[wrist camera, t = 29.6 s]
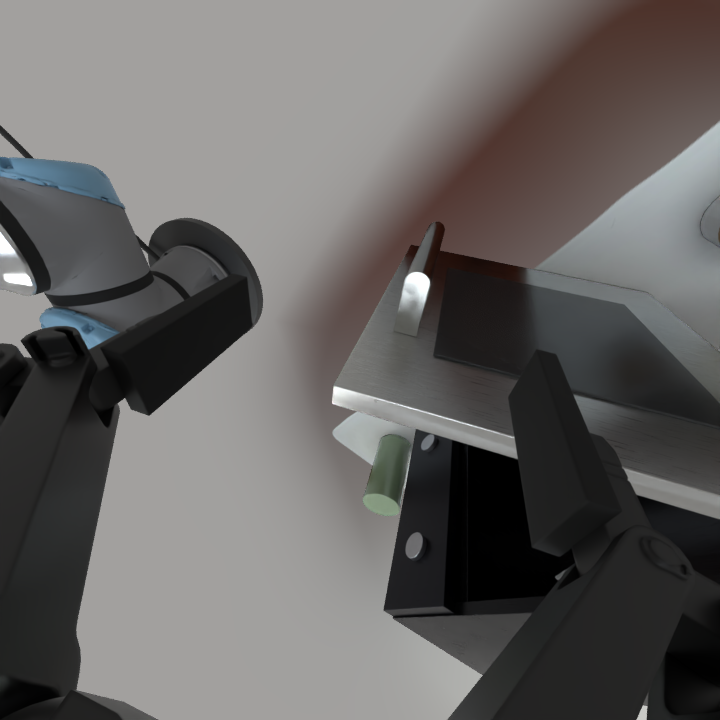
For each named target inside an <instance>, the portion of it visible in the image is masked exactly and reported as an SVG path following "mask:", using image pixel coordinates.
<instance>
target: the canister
mask: <svg viewBox="0 0 720 720" xmlns="http://www.w3.org/2000/svg"><path fill="white" fill-rule="evenodd" d="M410 452H411V446H410V444H409V442H408V441H407V440H405V439H404V438H402V437H400V436H397V435H386V436H384V437H382V438H381V440H380V442H379V446H378V449H377V452H376V456H375V459H374V463H373V466H372V469H371V473H370V476H369V480H368V483H367V487H366V490H365V493H364V497H363V503H364V505H365V506H366V507H367V508H368V509H369V510H371V511H372V512H375V513H377V514H380V515H384V516H393V515H396V514H398V513H399V511H400V506H401V501H402V495H403V490H404V484H405V479H406V474H407V468H408V463H409V457H410Z"/></svg>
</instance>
